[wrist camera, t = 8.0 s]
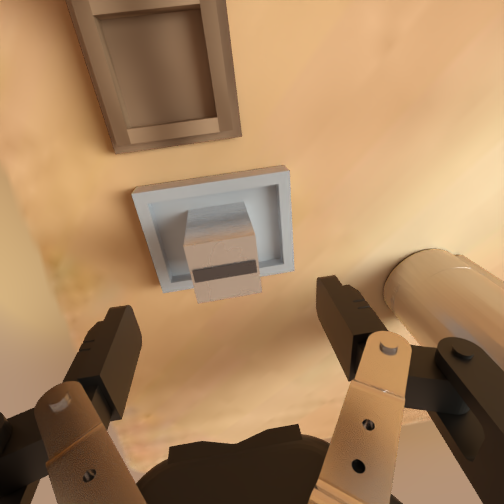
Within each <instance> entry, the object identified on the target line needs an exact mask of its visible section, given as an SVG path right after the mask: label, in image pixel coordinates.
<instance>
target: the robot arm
mask: <svg viewBox="0 0 504 504" xmlns="http://www.w3.org/2000/svg"><path fill="white" fill-rule="evenodd" d="M384 300H385V303H386V304H387V306H388V307H389V308H390V309H391V311H392V312H393V313H394V314H395V315H396V317H397V318H398V319H399V320H400V321H401V323H402V324H403V325H404V326H405V327H406V329H407V330H408V331H409V332H410V334H411V335H412V336H413V337H414V338H415V340H416V341H417V342H418V343H419V344H420V346H415V345H410V344H409V343H408V341H407V340H406V339H405V338H403V337H402V336H400V335H398V334H396V333H393V332H389V331H388V330H387V328H386V327H385V326H384V324H383V323H382V322H381V320H380V319H379V318H378V316H377V315H376V314H375V312H374V311H373V310H372V308H371V307H370V306H369V304H368V303H367V302H366V301H365V299H364V298H363V296H362V295H361V293H360V292H359V291H358V290H356V289H355V288H353V287H352V286H350V285H344V286H342V284H341V283H340V281H339V280H338V278H337V277H336V276H335V275H333V276H326V277H319V278H317V290H316V309H317V314H318V318H319V320H320V322H321V324H322V327H323V329H324V331H325V333H326V335H327V337H328V339H329V341H330V343H331V345H332V348H333V350H334V352H335V354H336V356H337V358H338V360H339V362H340V364H341V366H342V368H343V371H344V373H345V375H346V377H347V379H348V381H351V383H350V386H349V389H348V392H347V395H346V398H345V401H344V404H343V407H342V410H341V413H340V416H339V419H338V422H337V425H336V428H335V431H334V434H333V437H332V440H331V442H330V443H328V442H326V441H324V440H322V439H319V438H316V437H313V436H309V435H303V434H301V432H300V428H299V425H298V424H295V425H289V426H284V427H278V428H273V429H267V430H265V431H263V432H261V433H259V434H256V435H254V436H252V437H250V438H248V439H246V440H244V441H242V442H239V443H237V444H227V443H216V442H206V441H200V442H194V443H188V444H183V445H177V446H172V447H169V456H168V459H167V460H164V461H163V462H161V463H159V464H158V465H156V466H155V467H153V468H152V469H151V470H149V471H148V472H147V473H146V474H145V475H144V476H143V477H142V478H141V479H140V480H139V481H138V482H137V483H135V481H134V479H133V477H132V476H131V474H130V472H129V470H128V468H127V466H126V465H125V463H124V461H123V459H122V457H121V456H120V454H119V452H118V450H117V448H116V446H115V445H114V443H113V441H112V439H111V437H110V436H109V434H108V432H107V429H108V426H109V423H110V421H115V420H121V419H122V416H123V413H124V409H125V405H126V402H127V398H128V394H129V391H130V387H131V383H132V380H133V376H134V372H135V369H136V365H137V361H138V358H139V354H140V350H141V346H142V336H141V332H140V329H139V326H138V323H137V320H136V318H135V315H134V312H133V309H132V307H131V306H130V305H125V306H119V307H112V308H110V309H109V310H108V312H107V315H106V317H105V319H104V321H100V322H97V323H96V324H95V325H94V326H93V327H92V328H91V329H90V330H89V331H88V333H87V335H86V337H85V339H84V341H83V344H82V345H81V347H80V349H79V352H78V353H77V355H76V357H75V359H74V361H73V362H72V364H71V366H70V368H69V371H68V372H67V374H66V376H65V378H64V380H63V382H62V383H60V384H58V385H56V386H54V387H53V388H51V389H50V390H48V391H47V392H46V393H45V394H44V395H43V396H42V397H41V398H40V399H39V400H38V402H37V404H36V406H35V407H34V408H32V409H30V410H28V411H25V412H23V413H20V414H18V415H16V416H13V417H11V418H8V419H6V418H5V417H4V415H3V414H2V413H1V412H0V504H31V501H32V499H33V496H34V494H35V491H36V489H37V486H38V483H39V481H40V479H41V478H43V477H45V476H47V475H49V478H50V481H51V484H52V488H53V491H54V494H55V497H56V500H57V503H58V504H403V503H401V502H400V501H399V500H398V499H397V498H396V497H394V496H393V495H392V494H391V490H392V483H393V477H394V470H395V463H396V457H397V451H398V444H399V438H400V431H401V425H402V418H403V411H404V407H405V408H412V409H419V410H426V411H427V412H428V414H429V415H430V417H431V419H432V420H433V422H434V423H435V425H436V427H437V428H438V430H439V432H440V433H441V435H442V437H443V438H444V440H445V441H446V443H447V445H448V447H449V448H450V450H451V452H452V453H453V455H454V456H455V458H456V460H457V461H458V463H459V465H460V466H461V468H462V470H463V471H464V473H465V474H466V476H467V478H468V479H469V481H470V483H471V484H472V486H473V488H474V489H475V491H476V492H477V494H478V496H479V498H480V499H481V501H482V502H483V504H504V281H502V280H500V279H499V278H497V277H496V276H494V275H493V274H491V273H490V272H488V271H487V270H485V269H484V268H482V267H480V266H479V265H477V264H476V263H474V262H473V261H471V260H470V259H468V258H467V257H465V256H464V255H458V256H454V255H452V254H451V253H449V252H448V251H445V250H441V249H429V250H424V251H421V252H418V253H415V254H413V255H411V256H409V257H408V258H406V259H405V260H403V261H402V262H401V263H400V264H399V265H398V266H397V267H396V268H395V269H394V270H393V271H392V272H391V274H390V275H389V277H388V279H387V281H386V283H385V287H384Z"/></svg>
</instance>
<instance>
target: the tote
mask: <svg viewBox="0 0 504 504" xmlns="http://www.w3.org/2000/svg"><path fill="white" fill-rule="evenodd" d="M131 195H132V198H133V201H134V204H135V207H136V210H137V214H138V217H139V220H140V223H141V226H142V229H143V232H144V235H145V238H146V242H147V245H148V248H149V251H150V254H151V257H152V260H153V263H154V266H155V270H156V273H157V276H158V279H159V282H160V285H161V288H162V291H163V293H168V292H174V291H180V290H185V289H191V288H194V286H193V282H192V278H191V275H190V271H189V267H188V263H187V259H186V255H185V251H184V247H183V245H184V238H185V231H186V224H187V217H188V210H193V209H199V208H206V207H212V206H219V205H225V204H232V203H238V202H244V203H245V206H246V209H247V212H248V215H249V218H250V221H251V223H252V226H253V229H254V232H255V236H256V244H257V253H258V261H259V270H260V277H262V276H268V275H274V274H279V273H285V272H291V271H294V252H293V231H292V211H291V190H290V171H289V170H288V169H287V168H286V167H285V166H284V165H282V166H275V167H268V168H261V169H254V170H248V171H241V172H234V173H227V174H220V175H213V176H207V177H200V178H193V179H186V180H179V181H173V182H166V183H159V184H152V185H145V186H138V187H136V188H135V189H134V191H133V192H132V194H131Z"/></svg>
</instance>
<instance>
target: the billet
mask: <svg viewBox="0 0 504 504" xmlns="http://www.w3.org/2000/svg"><path fill="white" fill-rule="evenodd" d="M183 247H184V251H185V255H186V259H187V263H188V267H189V271H190V275H191V278H192V282H193V286H194V290H195V294H196V298H197V302H198V303H204V302H210V301H216V300H221V299H227V298H233V297H239V296H244V295H250V294H256V293H262V287H261V279H260V270H259V261H258V253H257V244H256V236H255V232H254V229H253V226H252V223H251V221H250V218H249V215H248V212H247V209H246V206H245V203H244V202H238V203H232V204H225V205H219V206H212V207H206V208H199V209H193V210H188V217H187V224H186V231H185V238H184V245H183Z"/></svg>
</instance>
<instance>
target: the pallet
mask: <svg viewBox="0 0 504 504" xmlns="http://www.w3.org/2000/svg"><path fill="white" fill-rule="evenodd" d="M66 4H67V7H68V10H69V13H70V16H71V19H72V22H73V25H74V28H75V31H76V34H77V37H78V40H79V43H80V46H81V50H82V53H83V56H84V59H85V62H86V65H87V68H88V71H89V74H90V77H91V80H92V83H93V86H94V89H95V92H96V96H97V99H98V102H99V105H100V108H101V111H102V114H103V117H104V120H105V123H106V126H107V129H108V132H109V135H110V138H111V142H112V145H113V148H114V151H115V154H120V153H127V152H135V151H142V150H149V149H156V148H163V147H171V146H178V145H185V144H192V143H199V142H206V141H214V140H221V139H228V138H235V137H242V132H241V124H240V115H239V107H238V99H237V90H236V82H235V74H234V65H233V57H232V49H231V40H230V32H229V24H228V15H227V7H226V0H66Z"/></svg>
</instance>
